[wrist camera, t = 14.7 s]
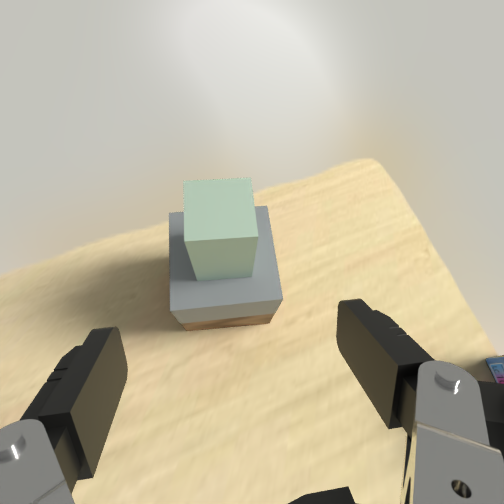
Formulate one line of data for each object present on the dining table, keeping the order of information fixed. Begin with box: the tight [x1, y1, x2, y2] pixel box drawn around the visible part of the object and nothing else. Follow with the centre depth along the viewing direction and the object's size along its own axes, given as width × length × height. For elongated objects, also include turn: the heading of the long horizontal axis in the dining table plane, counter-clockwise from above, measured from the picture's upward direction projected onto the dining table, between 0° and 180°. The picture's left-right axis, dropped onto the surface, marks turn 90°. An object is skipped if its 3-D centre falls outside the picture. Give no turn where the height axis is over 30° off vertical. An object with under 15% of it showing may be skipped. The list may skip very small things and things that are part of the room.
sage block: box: [183, 178, 258, 281], centre depth 25 cm, size 5×5×8 cm
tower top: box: [169, 206, 283, 324], centre depth 31 cm, size 10×10×6 cm
